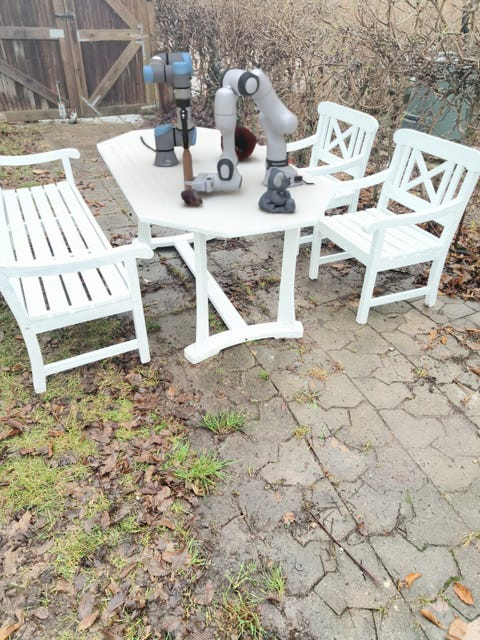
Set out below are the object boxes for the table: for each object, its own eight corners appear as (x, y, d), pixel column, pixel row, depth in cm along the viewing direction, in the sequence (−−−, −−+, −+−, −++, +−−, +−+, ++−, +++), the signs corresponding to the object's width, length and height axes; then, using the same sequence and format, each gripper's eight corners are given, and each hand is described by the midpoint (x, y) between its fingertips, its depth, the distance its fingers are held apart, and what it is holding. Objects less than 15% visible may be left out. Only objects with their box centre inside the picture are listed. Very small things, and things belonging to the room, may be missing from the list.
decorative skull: (217, 132, 306) (217, 129, 282) (251, 124, 305) (253, 121, 281) (224, 164, 313) (224, 164, 289) (257, 157, 312) (260, 156, 288)
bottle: (193, 190, 250) (190, 142, 235) (194, 193, 245) (191, 144, 231) (184, 191, 249) (181, 142, 234) (185, 194, 245) (181, 145, 230)
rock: (196, 202, 238) (178, 205, 233) (194, 185, 234) (176, 188, 230) (205, 205, 228) (187, 208, 224) (203, 188, 224) (185, 191, 220)
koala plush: (296, 213, 220) (299, 173, 208) (260, 215, 219) (260, 174, 207) (290, 201, 234) (292, 163, 223) (256, 202, 233) (256, 164, 222)
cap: (187, 148, 231) (186, 143, 230) (181, 147, 233) (180, 142, 232) (191, 147, 234) (191, 142, 233) (185, 146, 236) (185, 141, 234)
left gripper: (176, 95, 227) (179, 143, 240) (174, 101, 213) (178, 152, 227) (190, 95, 227) (194, 143, 241) (189, 100, 214) (193, 151, 227)
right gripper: (215, 170, 249) (191, 169, 250) (208, 181, 232) (182, 180, 234) (215, 181, 252) (191, 180, 254) (208, 193, 235) (183, 192, 237)
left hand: (186, 147), depth 234 cm, fingers closed on cap, 4 cm apart
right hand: (187, 180), depth 244 cm, fingers closed on bottle, 5 cm apart
